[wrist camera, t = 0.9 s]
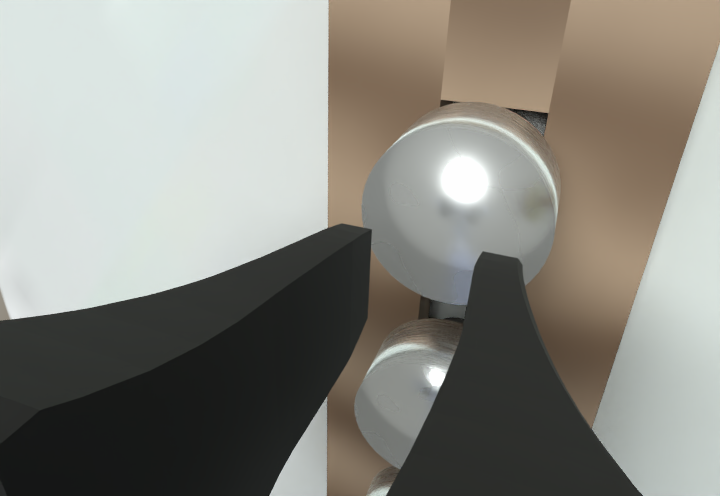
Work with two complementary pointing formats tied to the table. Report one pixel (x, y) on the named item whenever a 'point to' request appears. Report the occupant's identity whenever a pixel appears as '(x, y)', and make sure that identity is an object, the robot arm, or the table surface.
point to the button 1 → (383, 481)
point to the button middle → (405, 384)
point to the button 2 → (462, 198)
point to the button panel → (563, 133)
